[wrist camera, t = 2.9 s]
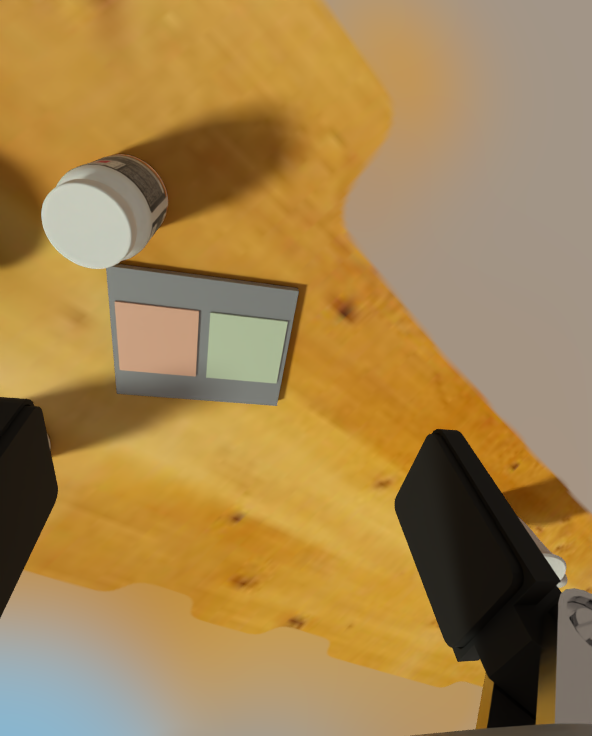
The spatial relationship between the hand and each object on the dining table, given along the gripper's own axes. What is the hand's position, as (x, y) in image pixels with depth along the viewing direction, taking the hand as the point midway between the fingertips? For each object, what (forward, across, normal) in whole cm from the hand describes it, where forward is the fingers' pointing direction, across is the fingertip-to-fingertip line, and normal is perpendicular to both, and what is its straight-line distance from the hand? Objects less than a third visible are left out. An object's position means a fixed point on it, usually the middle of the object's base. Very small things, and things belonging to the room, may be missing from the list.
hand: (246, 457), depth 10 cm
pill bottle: (+26, +9, 0) cm, 28 cm away
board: (+26, +2, +12) cm, 29 cm away
